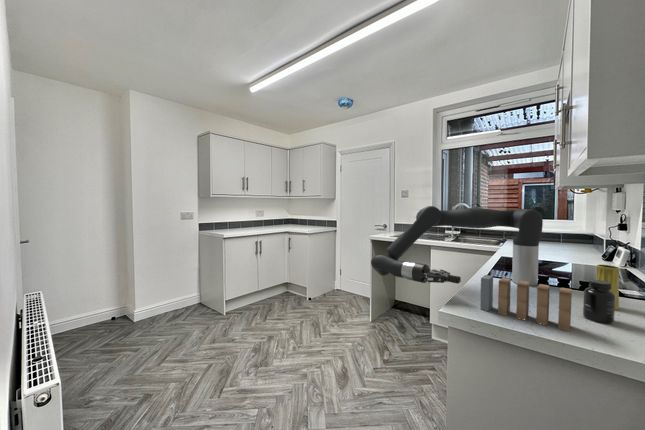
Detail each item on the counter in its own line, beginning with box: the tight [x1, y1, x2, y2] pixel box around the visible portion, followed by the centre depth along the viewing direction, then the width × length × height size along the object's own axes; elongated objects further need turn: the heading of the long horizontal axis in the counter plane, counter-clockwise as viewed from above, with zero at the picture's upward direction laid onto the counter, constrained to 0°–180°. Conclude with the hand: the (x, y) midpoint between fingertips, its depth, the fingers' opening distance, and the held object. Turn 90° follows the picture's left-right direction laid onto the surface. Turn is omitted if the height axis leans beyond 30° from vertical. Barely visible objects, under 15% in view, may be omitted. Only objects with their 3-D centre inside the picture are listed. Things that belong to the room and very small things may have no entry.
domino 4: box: [535, 283, 551, 326], centre depth 82 cm, size 5×2×11 cm, turn 135°
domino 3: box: [515, 281, 530, 321], centre depth 86 cm, size 5×2×11 cm, turn 135°
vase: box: [595, 264, 620, 311], centre depth 93 cm, size 6×6×14 cm
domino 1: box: [480, 274, 494, 312], centre depth 93 cm, size 5×2×11 cm, turn 134°
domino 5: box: [557, 287, 573, 331], centre depth 78 cm, size 5×2×11 cm, turn 135°
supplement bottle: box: [582, 279, 616, 325], centre depth 83 cm, size 7×7×12 cm
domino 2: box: [497, 277, 512, 316], centre depth 89 cm, size 5×2×11 cm, turn 135°
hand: (459, 280), depth 99 cm, fingers closed
